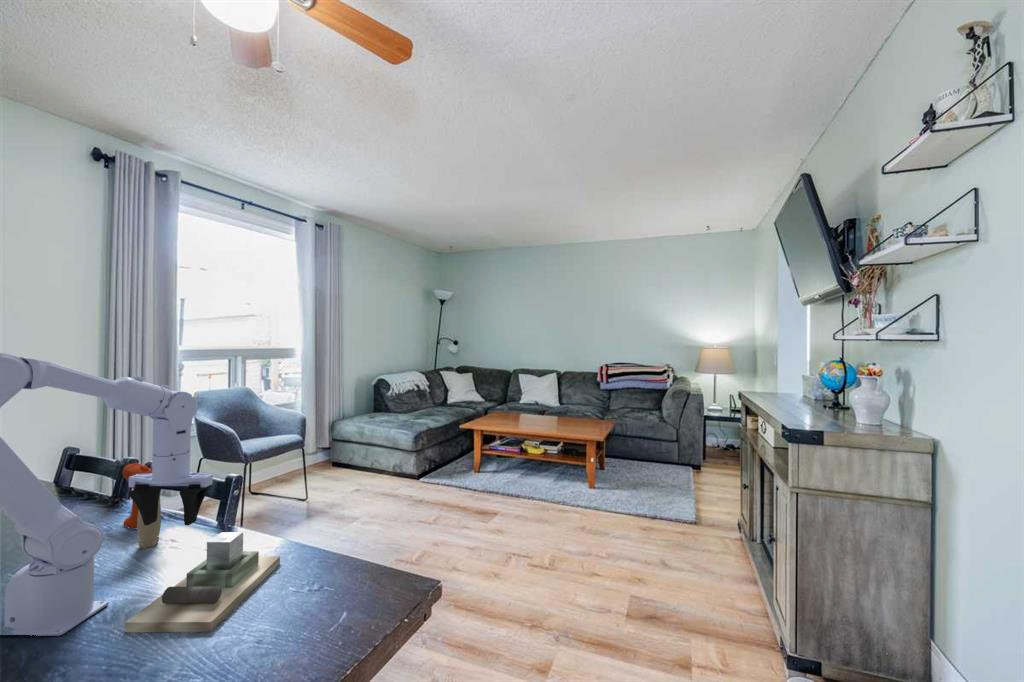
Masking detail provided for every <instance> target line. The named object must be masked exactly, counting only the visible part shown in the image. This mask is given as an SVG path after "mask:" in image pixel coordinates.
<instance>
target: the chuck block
mask: <svg viewBox="0 0 1024 682" xmlns="http://www.w3.org/2000/svg"><path fill="white" fill-rule="evenodd" d="M280 564H281V556H280V555H279V556H278V555H277V556H274V555H271V556H269V555H267V556H262V555H261V556H260V555H259V551H258V550H257V551H256V550H255V551H253V550H250V551H244V550H243V560H241V561H240V562H239V563H238V564H237V565H235V566H234V567H233V568H232V569H230V570H207V558H206V559H205V560H203V561H202V562H201V563H200V564H198V565H197V566H195V567H194V568H192V569H191V570H190V571H188V572H187V573H186V577H185V578H183V579H182V580H180V581H179V582H177V583H176V584H175V585H174V586H168V587H166V589H165V590H164V591H163V593H162V594H161V595H160V596H159V597H157V598H155V600H152V601H151V603H149V604H147V606H145V607H144V608H142V609H141V610H140V611H139V612H137V613H136V614H134V615H133V616H131V617H130V618H129V619H127V620H126V621H125V622H124V633H201V632H202V633H204V632H205V633H208V632H210V633H211V632H212V631H213V630H214V629H216V628H217V626H219V625H220V623H222V621H223V620H224V619H225V618H227V617H228V616H229V615H230V614H231V613H232V612H233V611H234V610H235V609H236V608H237V607H238V606H239V605H240V604H241V603H242V602H243V601H244V600H245V599H246V598H247V597H248V596H249V595H250V594H251V593H252V592H253V591H254V590H255V589H256V588H257V587H258V586H259V585H260V584H261V583H262V582H263V581H264V580H265V579H267V577H269V576H270V575H271V574H272V573H273V572H274V571H275V569H276V568H278V566H280Z"/></svg>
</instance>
